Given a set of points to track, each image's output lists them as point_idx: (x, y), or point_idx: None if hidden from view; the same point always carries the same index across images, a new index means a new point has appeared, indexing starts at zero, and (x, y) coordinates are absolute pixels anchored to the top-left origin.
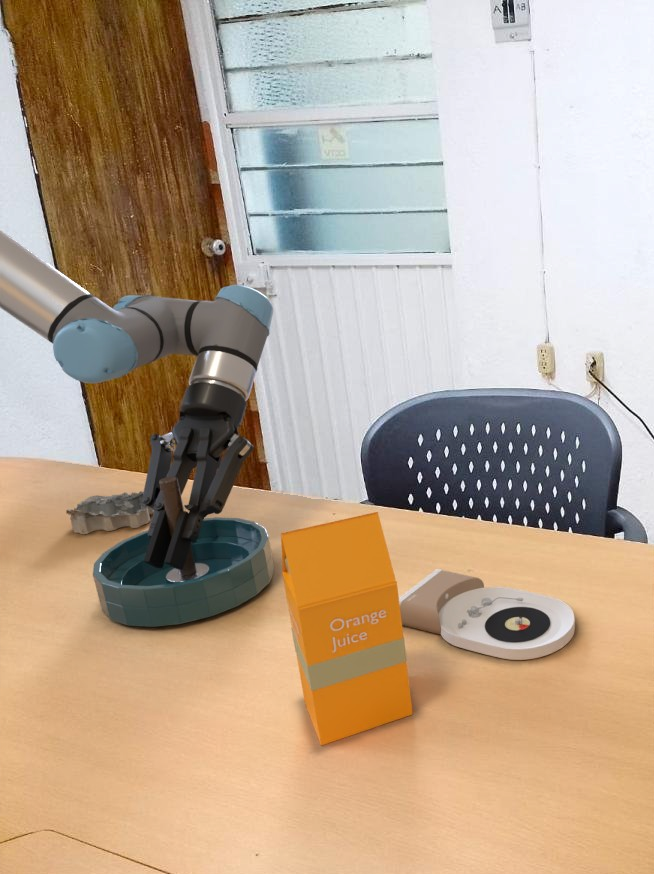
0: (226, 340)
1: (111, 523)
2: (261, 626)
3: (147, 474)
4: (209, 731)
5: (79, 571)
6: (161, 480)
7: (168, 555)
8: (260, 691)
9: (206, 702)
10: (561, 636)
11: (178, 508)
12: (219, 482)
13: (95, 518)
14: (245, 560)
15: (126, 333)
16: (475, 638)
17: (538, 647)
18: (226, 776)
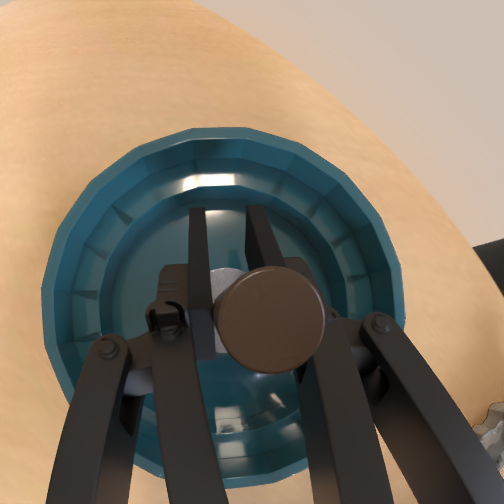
0: None
1: (477, 432)
2: (38, 213)
3: (454, 403)
4: (38, 53)
5: (444, 320)
6: (307, 299)
7: (198, 215)
8: (8, 103)
9: (51, 75)
10: None
11: (215, 303)
12: (71, 434)
13: (496, 425)
14: (46, 278)
15: None
16: None
17: None
18: (19, 34)
